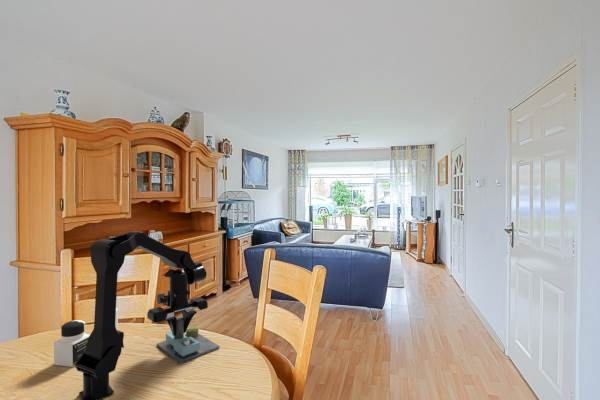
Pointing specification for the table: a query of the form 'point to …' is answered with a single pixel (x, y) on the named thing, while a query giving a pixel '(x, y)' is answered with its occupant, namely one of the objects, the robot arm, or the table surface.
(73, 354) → the medicine bottle
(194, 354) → the base plate
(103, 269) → the robot arm
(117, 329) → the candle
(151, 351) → the table surface
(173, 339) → the link
